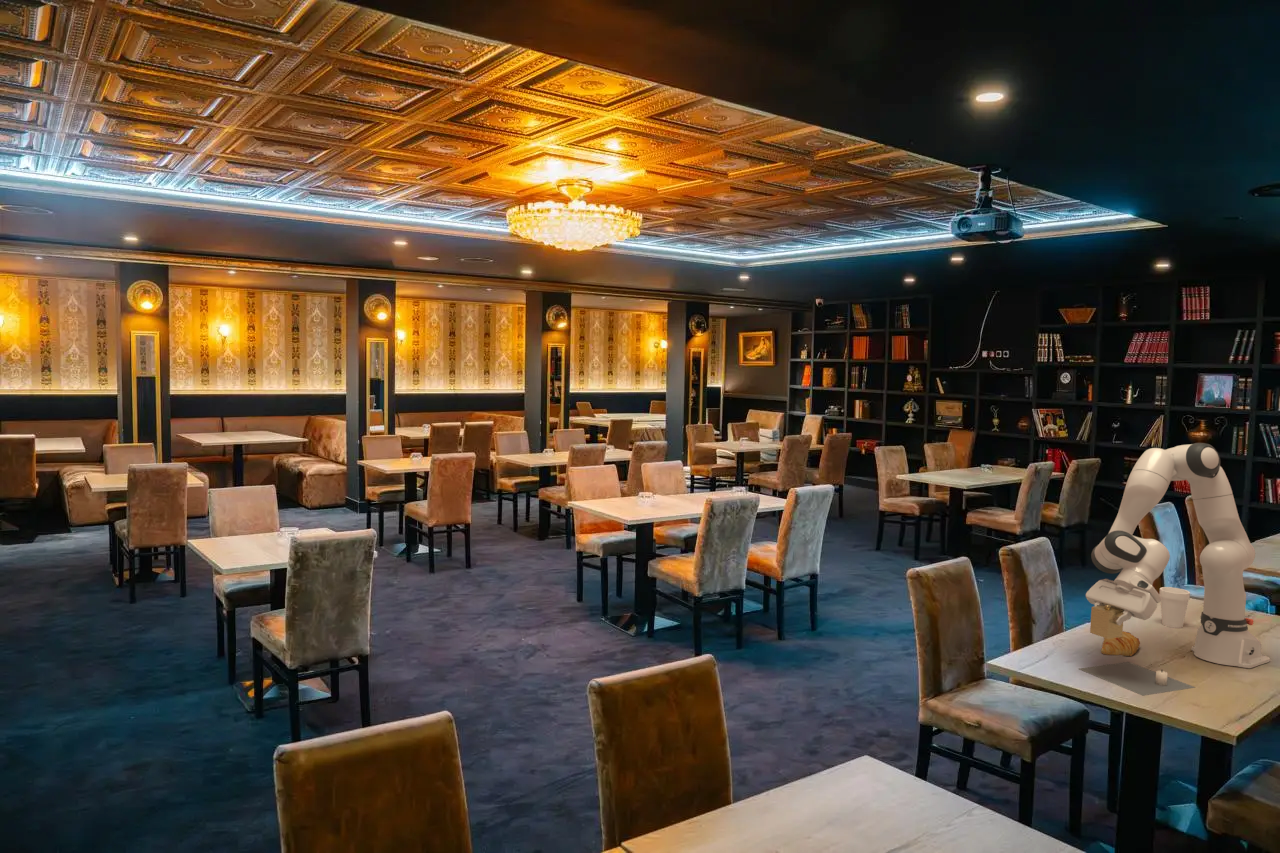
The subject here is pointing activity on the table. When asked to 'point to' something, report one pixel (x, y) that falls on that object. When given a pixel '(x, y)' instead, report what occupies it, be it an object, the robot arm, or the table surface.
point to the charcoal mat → (1134, 678)
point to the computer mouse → (1161, 678)
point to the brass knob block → (1105, 621)
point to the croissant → (1121, 645)
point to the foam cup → (1173, 606)
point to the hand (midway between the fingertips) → (1105, 620)
